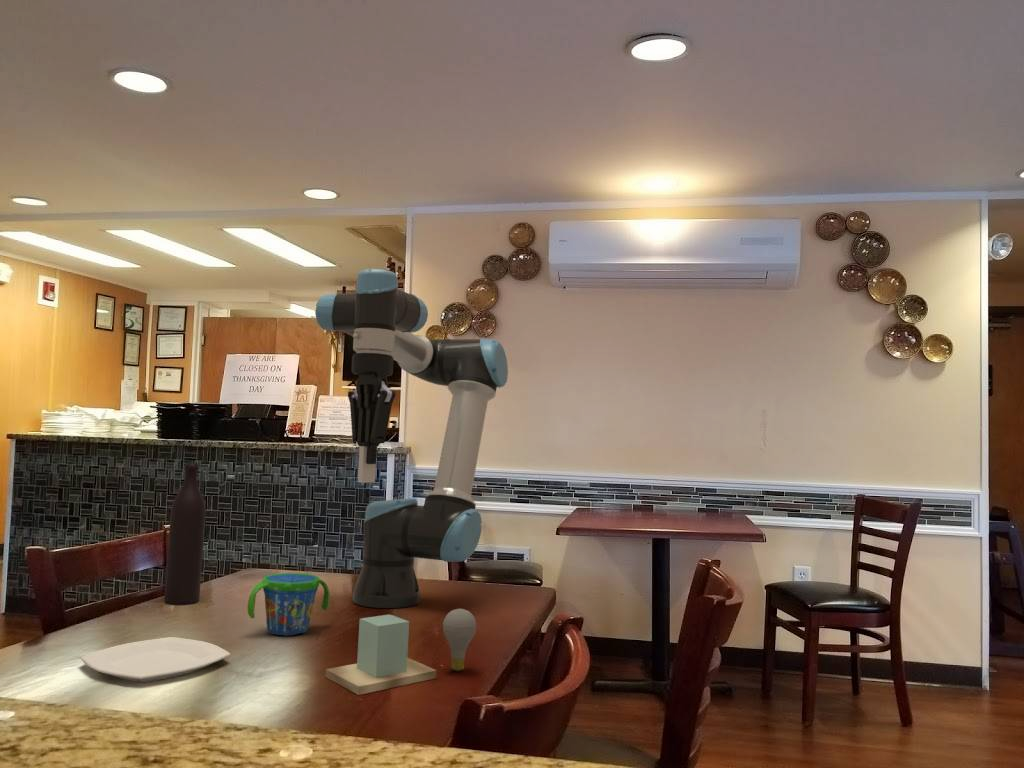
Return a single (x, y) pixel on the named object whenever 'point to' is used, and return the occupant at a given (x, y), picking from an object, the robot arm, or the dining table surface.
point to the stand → (367, 683)
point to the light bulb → (459, 634)
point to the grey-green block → (382, 645)
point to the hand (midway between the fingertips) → (366, 481)
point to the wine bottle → (185, 542)
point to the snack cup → (288, 601)
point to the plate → (155, 658)
